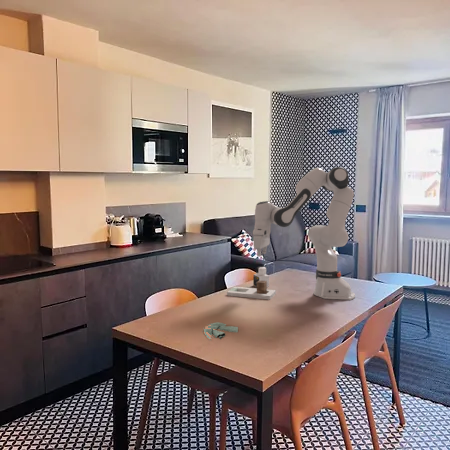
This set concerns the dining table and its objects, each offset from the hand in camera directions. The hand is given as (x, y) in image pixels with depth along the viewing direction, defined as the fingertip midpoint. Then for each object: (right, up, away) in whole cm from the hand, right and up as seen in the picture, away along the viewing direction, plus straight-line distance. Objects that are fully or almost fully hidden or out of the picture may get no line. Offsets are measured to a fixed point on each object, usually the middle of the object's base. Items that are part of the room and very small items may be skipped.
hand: (261, 255), depth 235 cm
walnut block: (0, -23, +2) cm, 23 cm away
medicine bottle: (+2, -21, +23) cm, 31 cm away
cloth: (-22, -30, -54) cm, 66 cm away
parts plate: (-6, -23, +4) cm, 24 cm away
